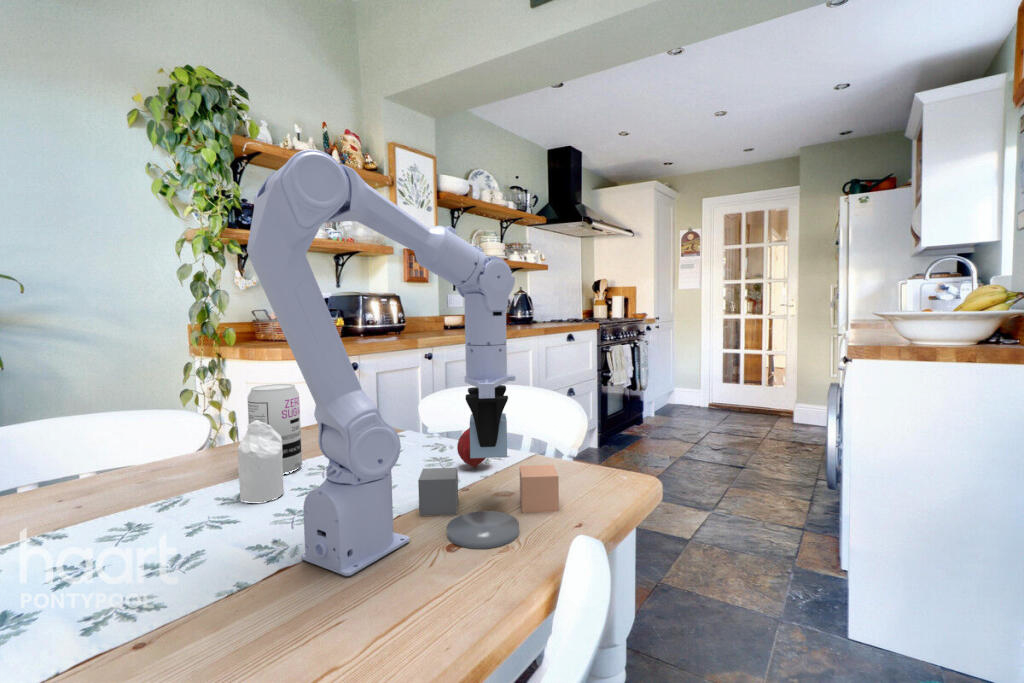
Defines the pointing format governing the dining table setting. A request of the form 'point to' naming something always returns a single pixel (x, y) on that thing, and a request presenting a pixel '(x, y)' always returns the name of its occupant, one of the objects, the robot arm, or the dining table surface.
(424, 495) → the charcoal cube
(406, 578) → the dining table surface
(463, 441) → the onion
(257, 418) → the white soda can
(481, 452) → the blue cube
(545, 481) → the terracotta cube
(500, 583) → the dining table surface
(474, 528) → the slate coaster
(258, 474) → the grey crumpled-top cylinder
